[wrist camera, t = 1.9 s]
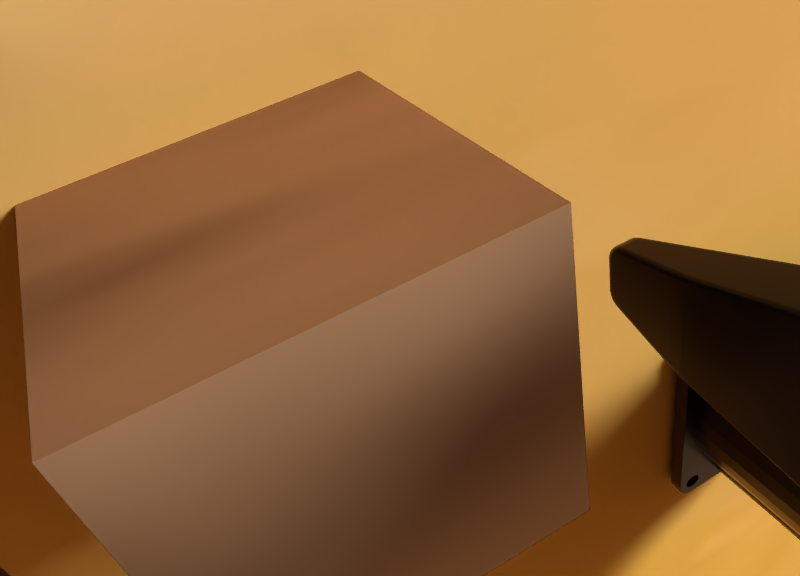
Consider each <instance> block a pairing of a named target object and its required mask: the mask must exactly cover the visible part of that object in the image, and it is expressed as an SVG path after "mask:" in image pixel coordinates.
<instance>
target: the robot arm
mask: <svg viewBox="0 0 800 576" xmlns="http://www.w3.org/2000/svg"><path fill="white" fill-rule="evenodd" d="M609 269H610V292H611V296H612V298H613V301H614V302H615V304H616V305H617V307H618V308H619V309H620V310H621V311H622V312H623V313H624V315H625V316H626V317H627V318H628V319H629V320H630V321H631V323H632V324H633V325H634V326H635V327H636V328H637V329H638V330H639V332H640V333H641V334H642V335H643V336H644V337H645V338H646V340H647V341H648V342H649V343H650V344H651V345H652V346H653V348H654V349H655V350H656V351H657V352H658V353H659V354H660V355H661V357H662V358H663V359H664V360H665V361H666V362H667V363H668V365H669V366H670V367H671V368H672V369H673V370H674V371H675V372H676V373H677V374H678V381H677V397H676V414H675V430H674V446H673V463H672V479H671V480H672V483H673V484H674V485H675V486H676V487H677V488H678V489H679V490H680V491H681V492H683V493H686V492H689V491H691V490H693V489H694V488H696V487H697V486H699V485H701V484H702V483H704V482H705V481H707V480H708V479H710V478H711V477H713V476H715V475H716V474H718V473H719V472H722V473H723V474H724V475H725V476H726V477H727V478H729V479H730V480H731V481H732V482H733V483H734V484H736V485H737V486H738V487H739V488H740V489H741V490H743V491H744V492H745V493H746V494H747V495H748V496H750V497H751V498H752V499H753V500H754V501H755V502H756V503H758V504H759V505H760V506H761V507H762V508H763V509H765V510H766V511H767V512H768V513H769V514H770V515H772V516H773V517H774V518H775V519H776V520H777V521H779V522H780V523H781V524H782V525H783V526H784V527H785V528H787V529H788V530H789V531H790V532H791V533H792V534H794V535H795V536H796V537H797V538H798V539H799V540H800V265H797V264H791V263H785V262H779V261H773V260H767V259H761V258H755V257H750V256H744V255H738V254H732V253H726V252H720V251H714V250H708V249H702V248H696V247H690V246H684V245H678V244H673V243H667V242H661V241H655V240H649V239H643V238H632V239H629V240H627V241H626V242H624V243H622V244H620V245H618V246H616V247H614V248H613V249H612V250H611V252H610V255H609ZM0 576H11V575H9V574H8V573H7V572H6V571H5V570H4V569H2V568H1V567H0Z"/></svg>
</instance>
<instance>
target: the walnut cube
mask: <svg viewBox="0 0 800 576" xmlns="http://www.w3.org/2000/svg"><path fill="white" fill-rule="evenodd" d="M15 214H16V229H17V244H18V259H19V274H20V289H21V305H22V320H23V335H24V350H25V365H26V380H27V395H28V410H29V425H30V440H31V455H32V464H33V465H34V466H35V467H36V468H37V469H38V471H39V472H40V473H41V474H42V475H43V476H44V478H45V479H46V480H47V481H48V482H49V483H50V485H51V486H52V487H53V488H54V489H55V490H56V492H57V493H58V494H59V495H60V496H61V497H62V499H63V500H64V501H65V502H66V503H67V504H68V506H69V507H70V508H71V509H72V510H73V511H74V513H75V514H76V515H77V516H78V517H79V518H80V520H81V521H82V522H83V523H84V524H85V525H86V527H87V528H88V529H89V530H90V531H91V532H92V534H93V535H94V536H95V537H96V538H97V539H98V541H99V542H100V543H101V544H102V545H103V546H104V548H105V549H106V550H107V551H108V552H109V553H110V555H111V556H112V557H113V558H114V559H115V560H116V561H117V563H118V564H119V565H120V566H121V567H122V568H123V570H124V571H125V572H126V573H127V574H128V575H129V576H484V575H485V574H487V573H488V572H490V571H492V570H493V569H495V568H496V567H498V566H500V565H501V564H503V563H504V562H506V561H508V560H509V559H511V558H513V557H514V556H516V555H517V554H519V553H521V552H522V551H524V550H525V549H527V548H529V547H530V546H532V545H534V544H535V543H537V542H538V541H540V540H542V539H543V538H545V537H546V536H548V535H550V534H551V533H553V532H554V531H556V530H558V529H559V528H561V527H563V526H564V525H566V524H567V523H569V522H571V521H572V520H574V519H575V518H577V517H579V516H580V515H582V514H584V513H585V512H587V511H588V510H590V508H589V491H588V475H587V459H586V443H585V426H584V410H583V394H582V378H581V362H580V345H579V329H578V313H577V297H576V280H575V264H574V248H573V232H572V216H571V202H569V201H567V200H566V199H564V198H563V197H561V196H559V195H558V194H556V193H555V192H553V191H551V190H550V189H548V188H546V187H545V186H543V185H542V184H540V183H538V182H537V181H535V180H534V179H532V178H530V177H529V176H527V175H526V174H524V173H522V172H521V171H519V170H518V169H516V168H514V167H513V166H511V165H510V164H508V163H506V162H505V161H503V160H502V159H500V158H498V157H497V156H495V155H494V154H492V153H490V152H489V151H487V150H485V149H484V148H482V147H481V146H479V145H477V144H476V143H474V142H473V141H471V140H469V139H468V138H466V137H465V136H463V135H461V134H460V133H458V132H457V131H455V130H453V129H452V128H450V127H449V126H447V125H445V124H444V123H442V122H441V121H439V120H437V119H436V118H434V117H433V116H431V115H429V114H428V113H426V112H425V111H423V110H421V109H420V108H418V107H416V106H415V105H413V104H412V103H410V102H408V101H407V100H405V99H404V98H402V97H400V96H399V95H397V94H396V93H394V92H392V91H391V90H389V89H388V88H386V87H384V86H383V85H381V84H380V83H378V82H376V81H375V80H373V79H372V78H370V77H368V76H367V75H365V74H364V73H362V72H360V71H357V72H354V73H352V74H349V75H347V76H344V77H342V78H339V79H336V80H334V81H331V82H329V83H326V84H324V85H321V86H319V87H316V88H313V89H311V90H308V91H306V92H303V93H301V94H298V95H296V96H293V97H290V98H288V99H285V100H283V101H280V102H278V103H275V104H273V105H270V106H268V107H265V108H262V109H260V110H257V111H255V112H252V113H250V114H247V115H245V116H242V117H239V118H237V119H234V120H232V121H229V122H227V123H224V124H222V125H219V126H216V127H214V128H211V129H209V130H206V131H204V132H201V133H199V134H196V135H194V136H191V137H188V138H186V139H183V140H181V141H178V142H176V143H173V144H171V145H168V146H165V147H163V148H160V149H158V150H155V151H153V152H150V153H148V154H145V155H142V156H140V157H137V158H135V159H132V160H130V161H127V162H125V163H122V164H120V165H117V166H114V167H112V168H109V169H107V170H104V171H102V172H99V173H97V174H94V175H91V176H89V177H86V178H84V179H81V180H79V181H76V182H74V183H71V184H68V185H66V186H63V187H61V188H58V189H56V190H53V191H51V192H48V193H46V194H43V195H40V196H38V197H35V198H33V199H30V200H28V201H25V202H23V203H20V204H17V205H15Z"/></svg>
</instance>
